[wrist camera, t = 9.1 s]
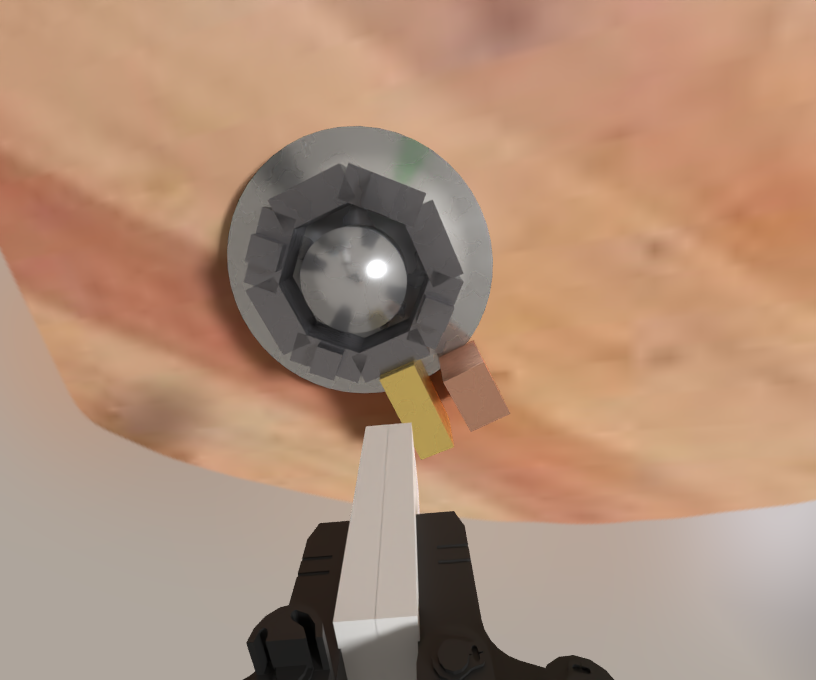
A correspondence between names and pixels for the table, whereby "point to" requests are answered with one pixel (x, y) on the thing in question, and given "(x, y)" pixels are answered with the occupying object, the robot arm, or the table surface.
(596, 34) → the table surface
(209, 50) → the table surface
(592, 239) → the table surface
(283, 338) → the grey ring yellow handle
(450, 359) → the housing
